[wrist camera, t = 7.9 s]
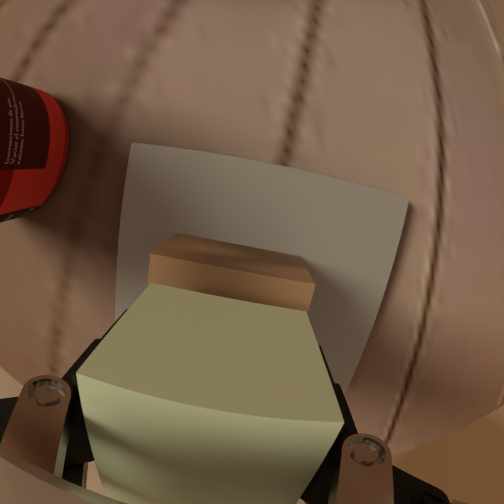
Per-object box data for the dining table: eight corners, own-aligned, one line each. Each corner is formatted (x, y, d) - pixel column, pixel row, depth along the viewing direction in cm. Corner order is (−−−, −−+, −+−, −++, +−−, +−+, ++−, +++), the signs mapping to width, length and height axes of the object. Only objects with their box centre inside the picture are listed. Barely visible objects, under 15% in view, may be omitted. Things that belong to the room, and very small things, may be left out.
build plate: (400, 196, 15) (409, 198, 14) (341, 385, 18) (345, 395, 17) (138, 144, 14) (131, 142, 14) (121, 348, 17) (115, 356, 16)
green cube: (306, 311, 10) (344, 422, 5) (271, 420, 11) (278, 527, 6) (151, 282, 10) (75, 372, 5) (146, 397, 11) (106, 496, 6)
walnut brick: (299, 256, 15) (315, 284, 11) (273, 360, 16) (277, 408, 12) (176, 232, 15) (150, 253, 11) (164, 340, 16) (143, 383, 12)
